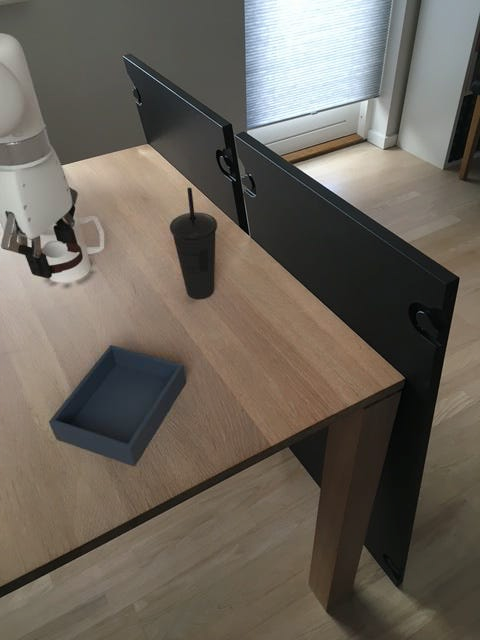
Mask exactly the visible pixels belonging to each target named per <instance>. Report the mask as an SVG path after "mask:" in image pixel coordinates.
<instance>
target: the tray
mask: <svg viewBox="0 0 480 640" xmlns="http://www.w3.org/2000/svg"><path fill="white" fill-rule="evenodd" d="M184 365H185V364H182V363H179V362H176V361H172V360H167V359H164V358H160V357H157V356H154V355H153V356H152V355H149V354H146V353H142V352H138V351H134V350H131V349H127V348H124V347H120V346H116V345H113V344H110V345H109V346H108V348H106V349H105V351H104V352H103V353H102V355H101V356H100V357H99V358H98V359H97V361H96V362H95V363H94V365H93V366H92V367H91V368H90V369H89V371H88V372H87V373H86V375H85V376H84V377H83V379H81V381H80V382H79V383H78V385H77V386H76V387H75V388H74V389H73V390H72V392H71V393H70V394H69V396H68V397H67V398H66V400H65V401H64V402H63V403H62V405H61V406H60V407H59V408H58V409H57V411H56V412H55V413H54V414H53V416H52V417H51V419H49V421H48V424H49V426H50V428H51V430H52V432H53V435H54V437H55V440H57V441H60V442H63V443H65V444H68V445H71V446H73V447H77V448H80V449H82V450H85V451H88V452H91V453H94V454H97V455H99V456H103V457H105V458H109V459H112V460H114V461H117V462H120V463H124V464H126V465H129V466H132V467H136V465H137V464H138V462H139V460H140V459H141V457H142V456H143V454H144V452H145V451H146V449H147V448H148V446H149V445H150V443H151V441H152V439H153V437H154V436H155V434H156V433H157V431H158V430H159V428H160V427H161V425H162V423H163V422H164V420H165V418H166V417H167V415H168V413H170V410H171V409H172V407H173V405H174V404H175V401H176V400H177V399H178V397H179V396H180V394H181V392H182V391H183V389H184V387H185V386H186V384H187V379H186V372H185V366H184Z"/></svg>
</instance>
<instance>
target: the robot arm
mask: <svg viewBox="0 0 480 640" xmlns="http://www.w3.org/2000/svg"><path fill="white" fill-rule="evenodd" d="M47 131H48V126H47V124H46V122H45V121H44V119H43V115H42V111H41V108H40V105H39V101H38V98H37V94H36V91H35V86H34V83H33V79H32V76H31V74H30V69H29V65H28V63H27V58H26V55H25V52H24V49H23V46H22V45H21V43H20V42H19V40H18V39H17V38H15V37H14V36H12V35H10V34H8V33H2V32H0V226H1V228H2V231H3V235H2V239H1V244H0V248H1V249H2V250H5V251H9V252H13V253H16V254H20V255H22V256H25V259H26V261H27V265H28V267H29V270H30V273H31V274H32V275H33V276H36V277H40V278H44V279H49V278H50V277H52V272H51V269H50V267H49V264H48V261H47V258H46V255H45V254H44V253H41V240H40V235H41V234H42V233H44V232H45V231H46V230H47V229H49V228H50V227H51V226H52V225H53V224H56V225H55V226H54V227H53V228H54V232H55V235H56V238H57V241H60V242H63V243H64V244H69V243H73V244H77V245H78V243H77V240H76V237H75V233H74V230H73V229H72V228H73V227H74V225H75V221H74V219H73V217H74V214H75V211H76V203H77V199H78V195H79V194H78V191H77V190H75V189H74V188H72V187H70V186H69V182H68V180H67V177H66V173H65V171H64V168H63V166H62V164H61V161H60V158H59V157H58V155H57V152H56V151H55V149H54V147H53V145H52V144H51V142H50V139H49V135H48V132H47ZM29 240H30V242H31V246H29V244H28V243H29V242H28V241H29ZM69 252H74V253H77V252H76V251H69ZM49 280H50V279H49Z"/></svg>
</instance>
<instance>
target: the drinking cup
mask: <svg viewBox="0 0 480 640" xmlns="http://www.w3.org/2000/svg"><path fill="white" fill-rule="evenodd" d="M186 191H187V198H188V207H189V212H188V213H183V214H180V215H178V216H176V217H175V218H174V219H172V221H171V222H170V224H169V231H170V233H171V235H172V238H173V242H174V245H175V249H176V253H177V258H178V261H179V262H178V263H179V266H180V269H181V270H180V271H181V274H182V278H183V282H184V286H185V290H186V294H187V296H188V297H189V298H191V299H193V300H206V299H208V298H210V297H211V296H212V295H213V294H214V292H215V274H216V273H215V271H216V270H215V269H216V236H217V235H216V233H217V229H218V221H217V220H216V218H215V217H214V216H212V215H211V214H208V213H205V212H196V211H195V206H194V197H193V196H194V195H193V189H192V187H187V188H186Z"/></svg>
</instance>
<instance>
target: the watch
mask: <svg viewBox="0 0 480 640" xmlns="http://www.w3.org/2000/svg"><path fill="white" fill-rule="evenodd" d="M69 251H76V252H79V255H78V256H77V257H75V258H74V259H72V260H71V261H68V262H65V263H61V264H56V265H49V267H50V269H51V272H52V273H53V274H54V273H60V272H62V271H65V270H69V269H72V268H74V267H75V266H77V265H78V264H79V263H80V262H81V261H82V259H83V255H82V250H81V247H80V246H79V245H77V244H73V243H69V244H64V243H63V242H60V241H50V242H48V243H46V244H45V245H44V246H43V248H41V253H44V254H45V255H46V256H48V257H51V258H57V257H61V256H63V255H64V254H65V253H66V252H69Z"/></svg>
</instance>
